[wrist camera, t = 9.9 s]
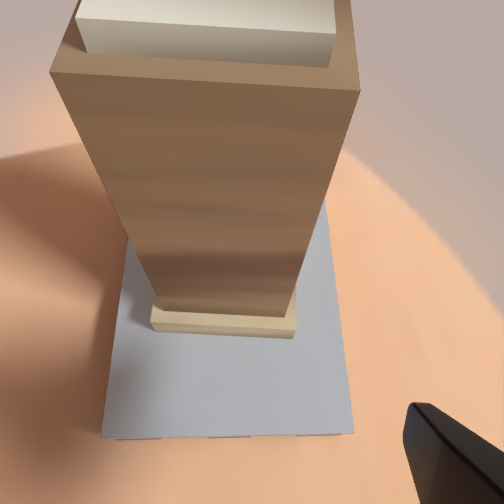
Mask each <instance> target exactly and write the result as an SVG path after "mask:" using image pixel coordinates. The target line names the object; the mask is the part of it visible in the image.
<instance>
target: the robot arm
mask: <svg viewBox="0 0 504 504" xmlns="http://www.w3.org/2000/svg"><path fill="white" fill-rule="evenodd" d="M403 445H404V448H405V452H406V455H407V459H408V462H409V466H410V469H411V473H412V476H413V480H414V483H415V487H416V490H417V494H418V497H419V501H420V504H504V452H503V451H501V450H500V449H498V448H497V447H495V446H494V445H492V444H491V443H489V442H488V441H486V440H485V439H483V438H482V437H480V436H478V435H477V434H475V433H474V432H472V431H471V430H469V429H468V428H466V427H465V426H463V425H462V424H460V423H459V422H457V421H456V420H454V419H453V418H451V417H450V416H448V415H447V414H445V413H444V412H442V411H441V410H439V409H438V408H436V407H435V406H433V405H432V404H430V403H419V402H412V403H411V404H410V405H409V407H408V410H407V415H406V420H405V425H404V430H403Z"/></svg>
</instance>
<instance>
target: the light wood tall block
mask: <svg viewBox="0 0 504 504" xmlns="http://www.w3.org/2000/svg"><path fill="white" fill-rule="evenodd" d="M49 73H50V75H51V77H52V79H53V81H54V83H55V85H56V88H57V90H58V92H59V94H60V96H61V98H62V100H63V102H64V104H65V106H66V108H67V110H68V112H69V114H70V117H71V119H72V121H73V123H74V125H75V127H76V129H77V131H78V133H79V135H80V137H81V140H82V142H83V144H84V146H85V148H86V150H87V152H88V154H89V156H90V158H91V160H92V162H93V164H94V167H95V169H96V171H97V173H98V175H99V177H100V179H101V181H102V183H103V185H104V187H105V189H106V192H107V194H108V196H109V198H110V200H111V202H112V204H113V206H114V208H115V210H116V212H117V214H118V216H119V219H120V221H121V223H122V225H123V227H124V229H125V231H126V233H127V235H128V237H129V239H130V241H131V243H132V246H133V248H134V250H135V252H136V254H137V256H138V258H139V260H140V262H141V264H142V266H143V268H144V271H145V273H146V275H147V277H148V279H149V281H150V283H151V285H152V287H153V289H154V291H155V295H154V301H153V307H152V313H151V319H150V323H151V325H152V326H153V328H154V329H155V331H156V332H167V333H185V334H204V335H222V336H241V337H259V338H278V339H293V337H294V334H295V332H296V330H297V324H296V282H297V279H298V276H299V273H300V270H301V267H302V264H303V261H304V258H305V255H306V252H307V249H308V246H309V243H310V240H311V237H312V234H313V231H314V228H315V225H316V222H317V219H318V216H319V213H320V210H321V207H322V204H323V201H324V198H325V195H326V192H327V189H328V186H329V183H330V180H331V177H332V174H333V171H334V168H335V165H336V162H337V159H338V157H339V154H340V151H341V148H342V145H343V142H344V139H345V136H346V132H347V130H348V127H349V124H350V121H351V118H352V114H353V112H354V109H355V106H356V103H357V99H358V97H359V94H360V91H361V90H360V82H359V72H358V64H357V55H356V47H355V38H354V29H353V21H352V12H351V4H350V0H79V1H78V3H77V5H76V8H75V11H74V13H73V15H72V18H71V20H70V23H69V25H68V27H67V30H66V32H65V35H64V37H63V39H62V42H61V44H60V46H59V49H58V52H57V54H56V56H55V58H54V61H53V63H52V66H51V68H50V71H49Z"/></svg>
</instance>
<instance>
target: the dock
mask: <svg viewBox="0 0 504 504" xmlns="http://www.w3.org/2000/svg"><path fill="white" fill-rule="evenodd" d="M154 295H155V291H154V289H153V287H152V285H151V283H150V281H149V279H148V277H147V275H146V273H145V271H144V268H143V266H142V264H141V262H140V260H139V258H138V256H137V254H136V252H135V250H134V248H133V246H132V243H131V241H130V239H129V237H128V243H127V250H126V257H125V264H124V272H123V279H122V286H121V293H120V300H119V307H118V315H117V322H116V329H115V336H114V343H113V350H112V358H111V365H110V372H109V379H108V386H107V394H106V401H105V408H104V415H103V422H102V429H101V437H100V439H114V440H149V439H161V438H193V437H208V438H239V437H251V436H284V435H297V436H330V435H342V434H352V433H355V432H354V424H353V416H352V409H351V401H350V393H349V385H348V377H347V370H346V362H345V354H344V346H343V338H342V331H341V323H340V315H339V307H338V299H337V292H336V284H335V276H334V268H333V260H332V253H331V245H330V237H329V229H328V221H327V213H326V206H325V198H324V201H323V204H322V207H321V210H320V213H319V216H318V219H317V222H316V225H315V228H314V231H313V234H312V237H311V240H310V243H309V246H308V249H307V252H306V255H305V258H304V261H303V264H302V267H301V270H300V273H299V276H298V279H297V282H296V324H297V330H296V332H295V334H294V337H293V339H278V338H259V337H241V336H222V335H204V334H185V333H167V332H156V331H155V329H154V328H153V326H152V325H151V323H150V319H151V313H152V307H153V301H154Z"/></svg>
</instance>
